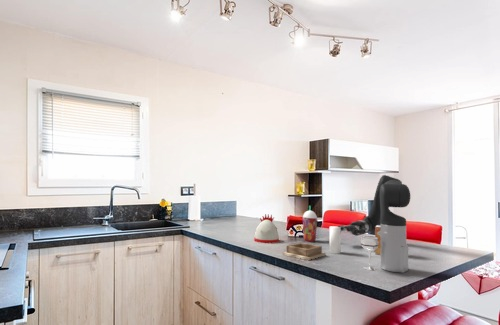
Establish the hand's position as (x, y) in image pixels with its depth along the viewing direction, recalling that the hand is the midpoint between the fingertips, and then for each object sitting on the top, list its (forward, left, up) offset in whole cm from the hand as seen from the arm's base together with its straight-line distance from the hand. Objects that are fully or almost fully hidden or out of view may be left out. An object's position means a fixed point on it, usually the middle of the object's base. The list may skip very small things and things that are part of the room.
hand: (345, 231), depth 158 cm
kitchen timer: (+41, +13, -9) cm, 44 cm away
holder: (+7, +27, -9) cm, 30 cm away
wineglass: (-23, +28, -9) cm, 37 cm away
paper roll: (0, +12, -9) cm, 15 cm away
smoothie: (+24, -5, -9) cm, 26 cm away
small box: (-18, -3, -9) cm, 21 cm away
